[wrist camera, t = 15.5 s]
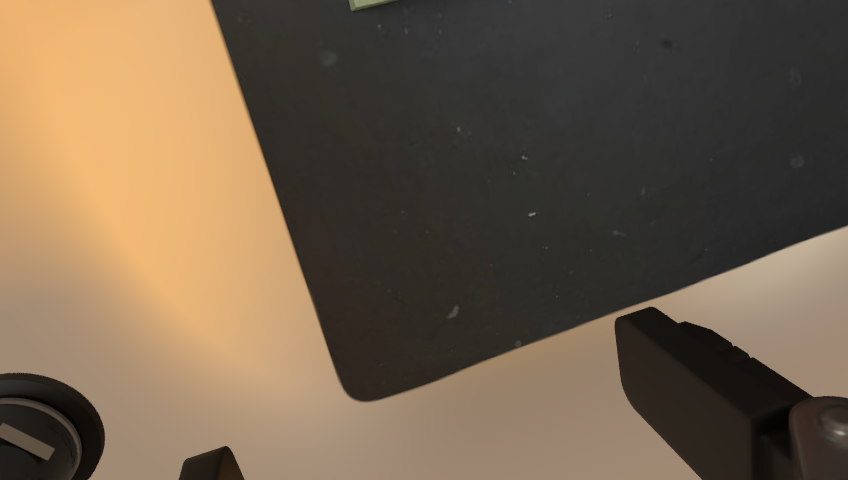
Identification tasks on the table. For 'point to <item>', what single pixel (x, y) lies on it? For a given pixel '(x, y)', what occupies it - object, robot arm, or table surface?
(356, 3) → the scale
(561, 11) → the table surface
